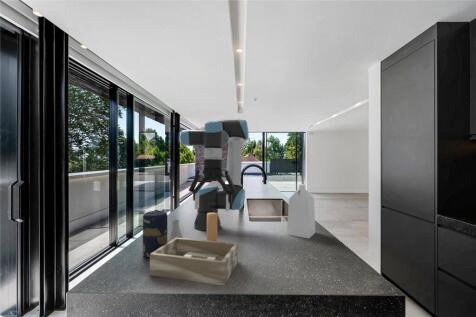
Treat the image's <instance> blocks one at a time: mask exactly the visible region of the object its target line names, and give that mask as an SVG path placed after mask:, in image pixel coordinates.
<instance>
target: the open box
mask: <svg viewBox="0 0 476 317" xmlns="http://www.w3.org/2000/svg"><path fill="white" fill-rule="evenodd" d="M238 263H239V243H236V242H235V243H234V242H225V241H218V240H217V241H207V239H206V240H205V239H204V240H203V239H197V238H196V239H194V238H187V237H186V238H184V237H183V238H174V239H173V240H171V241H169V242H167V243H166V244H165V245H163V246H162V247H160V248H159V249H157V250H155V251H154V252H152V253H151V254H150V257H149V276H153V277H154V276H155V277H162V278H170V279H175V280H176V279H177V280H183V281H191V282H198V283H204V284H211V285H218V286H219V285H220V286H225V285H226V283H227V281H228V280H229V278H230V276H231V274H232V273H233V271H234V270H235V267H237V264H238Z"/></svg>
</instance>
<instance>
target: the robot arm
mask: <svg viewBox="0 0 476 317" xmlns="http://www.w3.org/2000/svg"><path fill="white" fill-rule="evenodd" d="M249 136H250V135H249V127H248V122H247V120H245V119H220V120H216V121H215V120H214V121H213V120H212V121H206V122H205V123H204V126H201V127H197V128H195V129H182V130H181V132H180V135H179V141H180V144H181V145H182V146H184V147H185V146H187V147H203V158H205V159H204V160H203V170H201V169H198V170H196V173H195V177H194V178H193V181H192V183H191V184H190V187H189V188H188V191H189V192H191V193H192V200H193V201H194V210H197V214H196V216H195V219H194V222H193V227H194V229H196V230H198V231H207V213H217V230H218V229H220V228H221V227H222V222H221V219H220V216H219V210H225V212H229V211H239V210H241V209H242V208H243V206H244V204H245V198H246V190H245V189H244V188H243V185H242V184H241V176H242V164H243V163H242V161H243V149H244V148H243V147H244V144H246V140H248V139H249ZM225 146H228V149H227V159H226V170H223V168H222V167H223V164H222V163H223V161H222V158H223V147H225ZM202 175H203V178H202V179H201V181H200V182H199V180H200V178H201V176H202ZM222 176H223V177H225V180H224V179H223V178H222ZM207 181H209V182H217V183H219V184H220V186H221V188H220V187H219V186H218V185H207V186H206V185H205V184H206V183H207ZM197 184H198V185H197ZM204 185H205V186H204Z"/></svg>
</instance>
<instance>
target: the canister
mask: <svg viewBox="0 0 476 317" xmlns="http://www.w3.org/2000/svg"><path fill="white" fill-rule="evenodd" d="M167 239H168V212H166V211H163V210H159V209H155V210H151V211H147V212H144V213H143V215H142V255H143V256H144V257H146V258H150V254H151V253H152V252H154V251H155V250H157V249H159V248H160V247H162V246H163V245H165V244H166V243H168V242H167Z"/></svg>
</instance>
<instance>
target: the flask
mask: <svg viewBox="0 0 476 317" xmlns="http://www.w3.org/2000/svg"><path fill="white" fill-rule="evenodd" d="M179 221H180V219H179V218H178V219H177V218H175V219H172V220H171V222H172V224H171V229H170V231H169V235H168V236H167V243H168V242H169V241H171V240H173V239H174V238H184V237H183V235H182V233H181V230H180V225H179Z"/></svg>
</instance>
